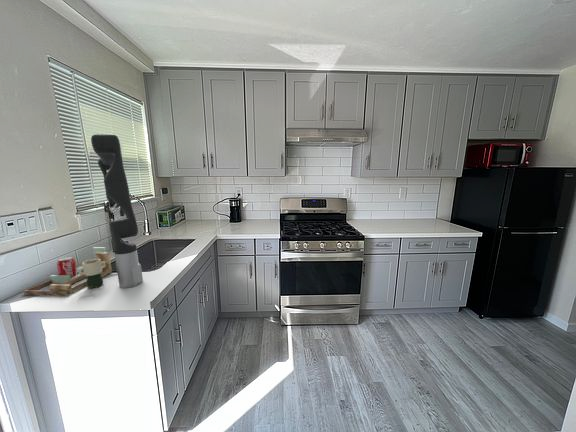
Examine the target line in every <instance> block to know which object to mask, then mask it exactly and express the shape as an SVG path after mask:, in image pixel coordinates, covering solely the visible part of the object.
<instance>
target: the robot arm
mask: <svg viewBox="0 0 576 432" xmlns="http://www.w3.org/2000/svg"><path fill="white" fill-rule="evenodd" d="M90 143H91V146H92V149H93V152H94V153H95V154H96V155H97V156H98V157H99V158H98V160H97V165H98V167H99V169H100V171H101V173H102V176H103V183H104V184H103V185H104V190H105V195H106V196H105V197H106V200H108V201H104V202H103V209H104V210H103V211H104V213H107V214H108V215H107V216H108V219H110V220H111V221H110V222H109V232H110V237H111V241H112V246H113V255H114V259H115V260H114V261H115V267H116V272H117V273H116V274H117V280H118V285H119V288H121V289H126V288H132V287H133V288H135V287H137V286H138V285H140V284H141V283H143V282H144V278H143V270H142V265H141V263H139V256H138V249H137V244H135V243H133V242H126V241H123V239H127V238H132V237H136V236H137V235H138V233H139V229H138V228H139V227H138V223H137V219H136V217H135V213H134V209H133V204H132V201H131V193H130V188H129V184H128V179H127V175H126V172H125V166H124V162H123V154H122V147H121V142H120V139H119V137H118V136H117V135H115V134H103V133H102V134H99V133H97V134H96V133H95V134H92V136H91V138H90ZM117 208H118V210H119V216H120V217H125V218H123V219H122V218H121V219H114V210H115V209H117ZM113 219H114V220H113Z"/></svg>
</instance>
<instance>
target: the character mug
mask: <svg viewBox="0 0 576 432" xmlns="http://www.w3.org/2000/svg"><path fill="white" fill-rule="evenodd" d="M102 263H103V266H102ZM81 265H82V266H83V267H82V266H81V267H82V268H80V267H78V268H79V272H78V275H79V274H80V275H82V274H85V275H86V276H88V277H86V279H87V285H86V287H88V288H97V287H100V286H101V285H103V284H104V280H103V277H102V276H101V274H100V273H102V268H104V267H106V265H105V261H103V262H101V259H94V258H91V259H87V260H84V261H82V263H81ZM82 269H83V270H82ZM81 270H82V271H83V272H82V271H81Z"/></svg>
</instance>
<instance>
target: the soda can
mask: <svg viewBox="0 0 576 432" xmlns="http://www.w3.org/2000/svg"><path fill="white" fill-rule="evenodd" d="M56 267H57V273H58V274H57V275H70V278H73V277H75V276H77V275H79V273H77V264H76V260H75V259H74V258H73V256H65V257H60V258H58V259H57V262H56Z"/></svg>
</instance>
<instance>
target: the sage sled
mask: <svg viewBox="0 0 576 432" xmlns="http://www.w3.org/2000/svg"><path fill="white" fill-rule="evenodd" d="M92 252H93V259H96V255H95V253H97V252H101V253H107V249H106V246H103V247H102V246H100V247H99V246H93V247H92ZM82 267H83V266H80V267H78V268H77V267H76V268H77V274H78V275H77V276H75V277H73V278H76V277H78V276H80V274H79V268H82ZM81 271H83V269H82V270H81ZM49 276H50V279H51V282H52V284H62V283H65V282H67V281H69V280H71V279H73V278H70V275H59V274H52V275H49Z"/></svg>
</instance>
